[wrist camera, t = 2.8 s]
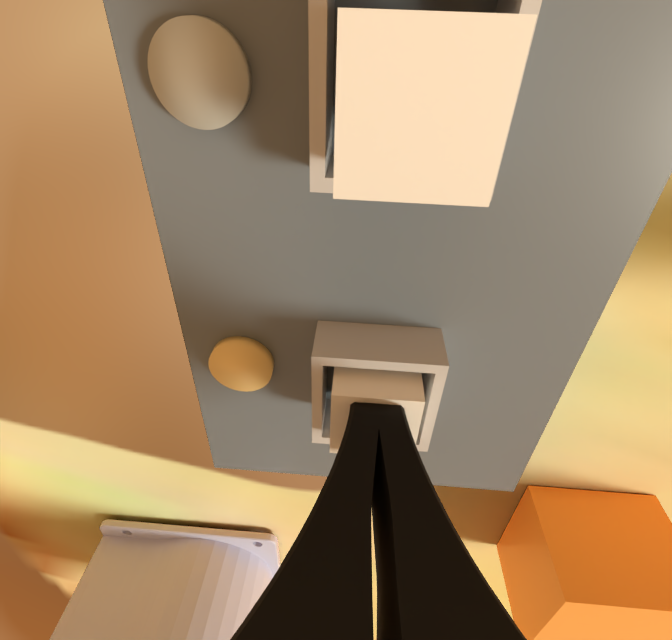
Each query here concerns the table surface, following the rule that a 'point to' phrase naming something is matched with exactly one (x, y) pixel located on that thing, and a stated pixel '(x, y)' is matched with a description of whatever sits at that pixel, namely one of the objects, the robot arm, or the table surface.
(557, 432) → the table surface
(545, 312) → the breaker panel
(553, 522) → the orange block
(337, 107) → the button
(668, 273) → the table surface
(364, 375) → the button
